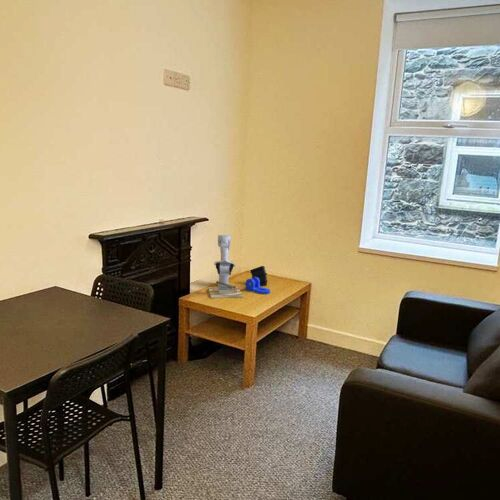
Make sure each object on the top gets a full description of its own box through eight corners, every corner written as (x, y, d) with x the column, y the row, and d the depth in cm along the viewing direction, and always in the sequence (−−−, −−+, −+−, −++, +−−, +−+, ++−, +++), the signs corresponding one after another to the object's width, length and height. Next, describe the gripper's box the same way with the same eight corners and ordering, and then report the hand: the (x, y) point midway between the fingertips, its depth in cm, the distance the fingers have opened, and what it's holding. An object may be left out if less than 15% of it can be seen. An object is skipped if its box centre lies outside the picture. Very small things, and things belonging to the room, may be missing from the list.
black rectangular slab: (269, 285, 333) (262, 266, 333) (254, 289, 339) (247, 271, 338) (271, 283, 336) (264, 265, 336) (256, 288, 342) (249, 270, 342)
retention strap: (215, 282, 313) (216, 280, 313) (235, 288, 317) (235, 286, 317) (216, 283, 310) (217, 281, 310) (235, 289, 313) (236, 287, 313)
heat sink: (217, 289, 318) (217, 285, 317) (231, 289, 320) (231, 285, 319) (219, 294, 308) (219, 290, 308) (233, 293, 310) (233, 289, 310)
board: (208, 289, 322) (208, 287, 322) (238, 288, 326) (238, 287, 326) (211, 298, 303) (211, 296, 303) (242, 297, 307) (243, 296, 307)
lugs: (212, 290, 316) (212, 285, 315) (235, 290, 319) (235, 285, 318) (213, 293, 310) (213, 288, 309) (236, 292, 313) (237, 288, 312)
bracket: (245, 289, 325) (245, 278, 323) (251, 287, 331) (252, 275, 329) (265, 295, 315) (266, 283, 313) (272, 292, 321) (272, 280, 319)
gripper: (215, 253, 312) (214, 270, 304) (235, 255, 314) (235, 271, 307) (214, 259, 318) (213, 275, 310) (234, 261, 320) (234, 277, 312)
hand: (224, 274), depth 309 cm, fingers open, 7 cm apart
